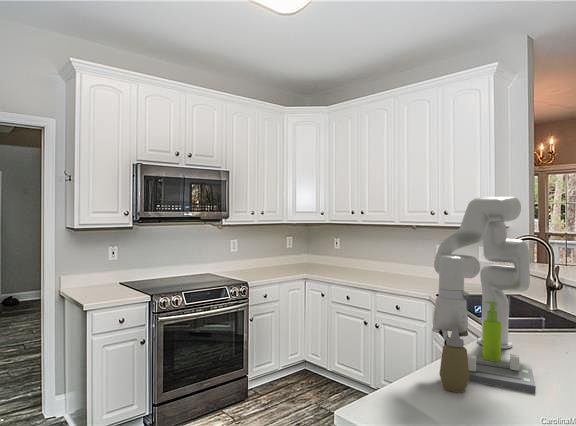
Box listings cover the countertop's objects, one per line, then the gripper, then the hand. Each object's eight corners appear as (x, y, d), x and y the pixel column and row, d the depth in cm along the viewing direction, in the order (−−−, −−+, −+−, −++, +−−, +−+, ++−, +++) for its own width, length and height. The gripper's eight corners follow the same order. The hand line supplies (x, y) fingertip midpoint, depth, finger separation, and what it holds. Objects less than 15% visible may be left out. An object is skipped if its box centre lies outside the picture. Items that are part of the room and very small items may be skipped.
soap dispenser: (493, 355, 154) (494, 300, 154) (504, 361, 147) (505, 304, 147) (478, 354, 154) (479, 300, 154) (487, 361, 147) (488, 304, 147)
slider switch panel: (457, 362, 144) (458, 356, 144) (531, 375, 134) (531, 368, 134) (453, 378, 130) (453, 371, 130) (535, 393, 120) (535, 385, 120)
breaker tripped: (467, 367, 133) (467, 354, 133) (476, 368, 132) (476, 355, 132) (466, 370, 131) (467, 357, 131) (475, 371, 129) (475, 358, 130)
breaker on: (509, 366, 135) (510, 353, 135) (518, 367, 134) (519, 355, 134) (510, 369, 132) (510, 356, 132) (519, 370, 131) (519, 357, 131)
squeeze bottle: (433, 385, 124) (434, 324, 124) (454, 382, 127) (455, 322, 127) (453, 396, 116) (455, 331, 116) (475, 392, 119) (476, 329, 120)
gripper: (477, 295, 134) (475, 353, 134) (428, 290, 141) (426, 345, 141) (475, 299, 128) (474, 359, 127) (424, 293, 135) (423, 351, 134)
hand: (449, 352), depth 134 cm, fingers closed
